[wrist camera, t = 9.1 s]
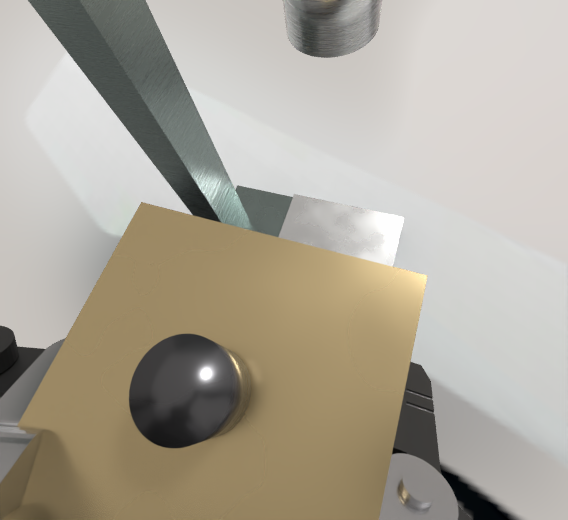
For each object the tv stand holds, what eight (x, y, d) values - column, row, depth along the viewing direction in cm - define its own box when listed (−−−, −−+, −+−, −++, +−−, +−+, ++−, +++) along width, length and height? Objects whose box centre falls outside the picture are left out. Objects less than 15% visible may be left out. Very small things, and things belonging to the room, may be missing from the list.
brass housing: (362, 356, 14) (450, 247, 4) (329, 488, 12) (338, 871, 2) (253, 320, 15) (108, 167, 5) (210, 437, 14) (-129, 547, 3)
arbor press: (407, 194, 32) (721, -653, 6) (376, 328, 28) (977, -619, 2) (253, 164, 36) (50, -436, 10) (204, 278, 31) (-375, -257, 6)
